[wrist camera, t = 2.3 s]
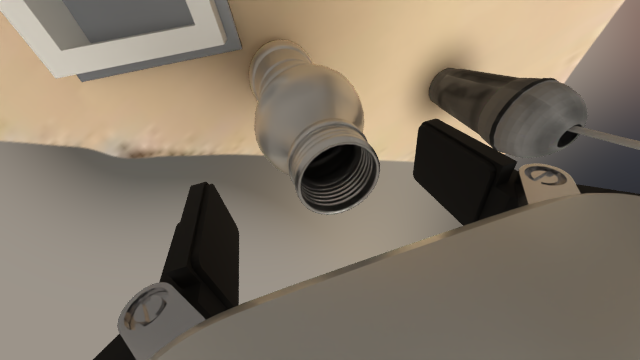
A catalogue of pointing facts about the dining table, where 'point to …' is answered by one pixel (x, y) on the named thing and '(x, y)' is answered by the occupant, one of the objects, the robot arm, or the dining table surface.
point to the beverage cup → (516, 111)
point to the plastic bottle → (312, 128)
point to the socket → (121, 33)
